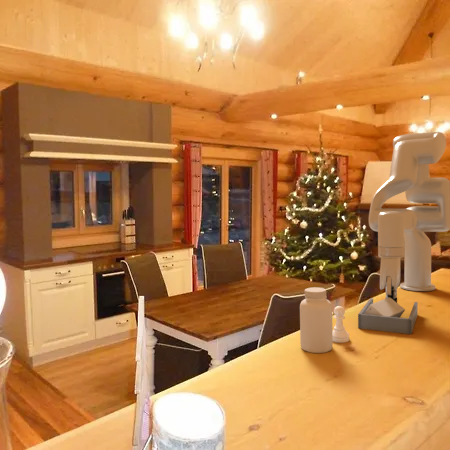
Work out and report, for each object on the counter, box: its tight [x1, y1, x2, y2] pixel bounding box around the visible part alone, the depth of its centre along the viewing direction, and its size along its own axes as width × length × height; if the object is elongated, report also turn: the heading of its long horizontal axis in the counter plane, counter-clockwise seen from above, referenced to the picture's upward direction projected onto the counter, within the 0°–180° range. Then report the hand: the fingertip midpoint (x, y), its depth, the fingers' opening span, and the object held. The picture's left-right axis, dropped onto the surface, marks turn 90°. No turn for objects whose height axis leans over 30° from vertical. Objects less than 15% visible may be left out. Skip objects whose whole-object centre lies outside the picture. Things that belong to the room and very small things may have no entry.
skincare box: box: [365, 297, 406, 318], centre depth 133 cm, size 6×4×12 cm
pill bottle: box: [299, 286, 334, 354], centre depth 113 cm, size 8×8×15 cm
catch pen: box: [357, 297, 419, 335], centre depth 134 cm, size 20×14×4 cm
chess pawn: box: [332, 305, 350, 344], centre depth 119 cm, size 5×5×9 cm
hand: (391, 310), depth 141 cm, fingers closed
